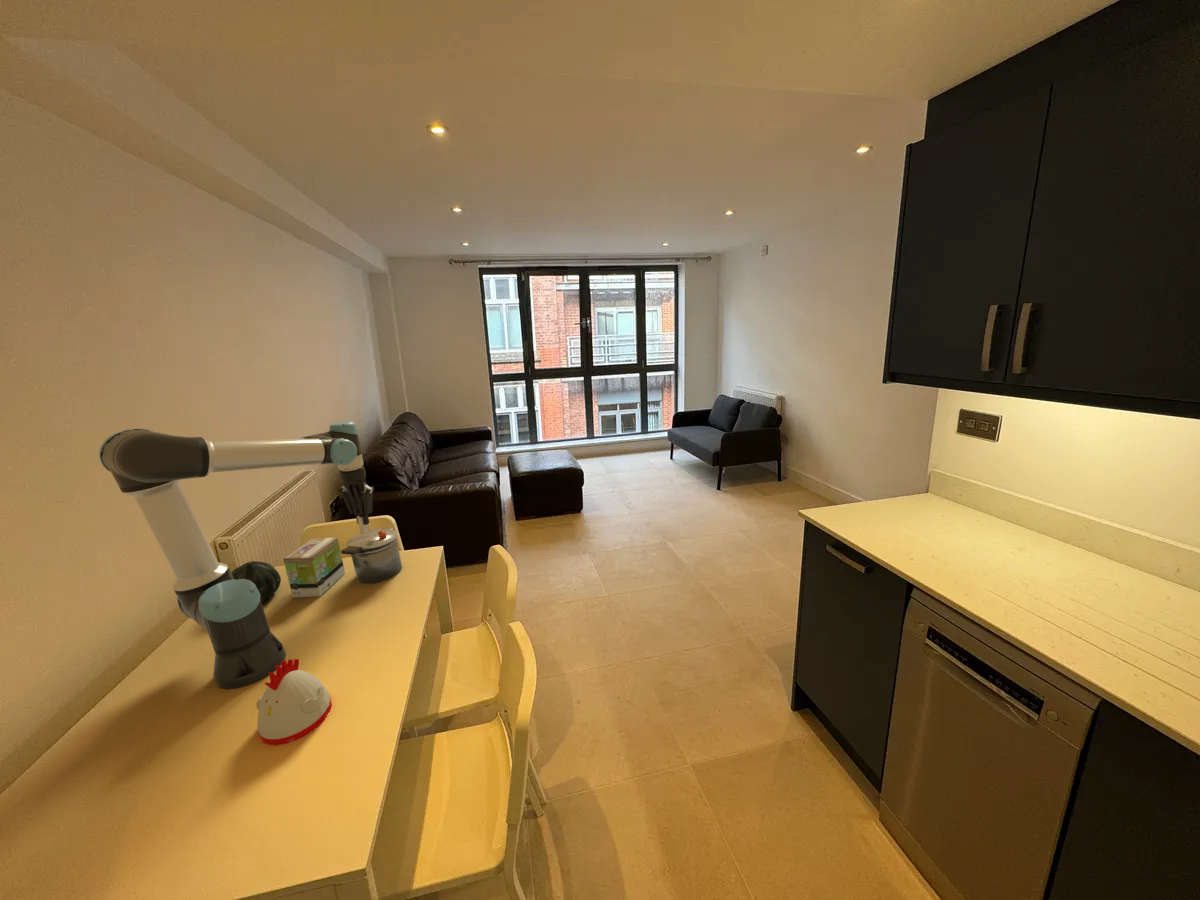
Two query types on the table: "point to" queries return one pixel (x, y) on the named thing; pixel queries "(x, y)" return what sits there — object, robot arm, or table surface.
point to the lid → (369, 540)
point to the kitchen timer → (291, 704)
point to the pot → (377, 563)
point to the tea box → (314, 567)
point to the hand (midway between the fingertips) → (365, 532)
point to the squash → (259, 577)
